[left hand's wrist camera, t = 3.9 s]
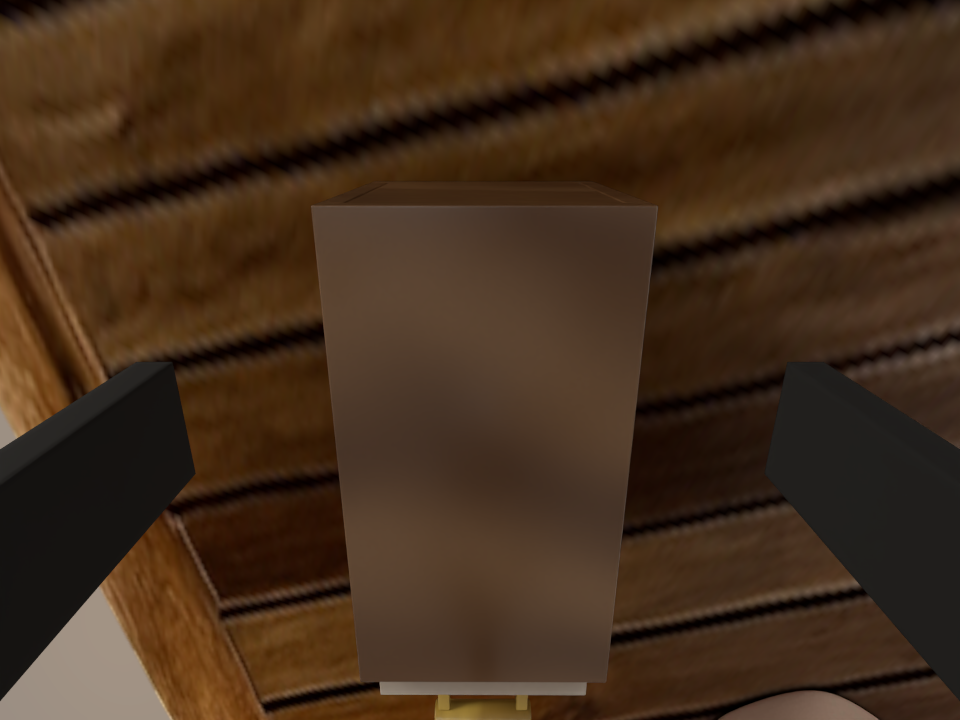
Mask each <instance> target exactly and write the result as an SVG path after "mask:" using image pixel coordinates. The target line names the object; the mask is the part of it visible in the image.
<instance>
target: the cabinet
mask: <svg viewBox="0 0 960 720" xmlns="http://www.w3.org/2000/svg"><path fill="white" fill-rule="evenodd" d="M311 210H312V220H313V229H314V239H315V249H316V258H317V268H318V277H319V287H320V297H321V306H322V316H323V325H324V335H325V345H326V354H327V364H328V373H329V383H330V393H331V402H332V412H333V422H334V431H335V441H336V450H337V460H338V470H339V479H340V489H341V498H342V508H343V518H344V527H345V537H346V547H347V556H348V566H349V575H350V585H351V595H352V604H353V614H354V623H355V633H356V643H357V652H358V662H359V671H360V681H361V682H588V683H605V682H606V678H607V669H608V660H609V651H610V642H611V632H612V623H613V614H614V605H615V596H616V587H617V578H618V568H619V559H620V550H621V541H622V532H623V523H624V514H625V504H626V495H627V486H628V477H629V468H630V459H631V450H632V440H633V431H634V422H635V413H636V404H637V395H638V386H639V376H640V367H641V358H642V349H643V340H644V331H645V321H646V312H647V303H648V294H649V285H650V276H651V267H652V257H653V248H654V239H655V230H656V221H657V212H658V206H657V205H654V204H652V203H649V202H646V201H643V200H641V199H638V198H635V197H633V196H630V195H627V194H625V193H622V192H619V191H617V190H614V189H611V188H609V187H606V186H604V185H601V184H598V183H595V182H593V181H375V182H372V183H370V184H367V185H364V186H362V187H359V188H357V189H354V190H351V191H349V192H346V193H344V194H341V195H339V196H336V197H333V198H331V199H328V200H326V201H323V202H320V203H317V204H315V205H312V206H311Z"/></svg>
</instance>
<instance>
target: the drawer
mask: <svg viewBox="0 0 960 720" xmlns="http://www.w3.org/2000/svg"><path fill="white" fill-rule="evenodd" d="M586 684H587V682H380V691H381V694H382V695H438V699H436V703H435V720H531V706H530V700H529V699H528V695H585V694H586ZM450 695H516V697H515V699H450Z"/></svg>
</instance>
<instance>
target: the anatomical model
mask: <svg viewBox="0 0 960 720" xmlns="http://www.w3.org/2000/svg"><path fill="white" fill-rule="evenodd" d="M718 720H879V719H877V718H876V717H874V716H873V715H872V714H870V713H869V712H867V711H865V710H864V709H862V708H861V707H859V706H858V705H856V704H854V703H852V702H850V701H848V700H846V699H844V698H842V697H840V696H837V695H835V694H832V693H828V692H823V691H815V690H804V691H795V692H790V693H784V694H780V695H776V696H772V697H769V698H766V699H762V700H759V701H756V702H753V703H751V704H748V705H745V706H743V707H740V708H738V709H736V710H734V711H731V712H729V713H727V714H725V715H724V716H722V717H721V718H719V719H718Z"/></svg>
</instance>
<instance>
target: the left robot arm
mask: <svg viewBox="0 0 960 720" xmlns="http://www.w3.org/2000/svg"><path fill="white" fill-rule="evenodd" d="M194 475H195V469H194V464H193V459H192V454H191V449H190V445H189V440H188V435H187V430H186V425H185V420H184V416H183V411H182V406H181V401H180V396H179V391H178V387H177V382H176V377H175V372H174V367H173V362H136V363H134V364H133V365H131V366H130V367H128V368H127V369H125V370H123V371H122V372H120V373H119V374H117V375H116V376H114V377H112V378H111V379H109V380H108V381H106V382H105V383H103V384H102V385H100V386H98V387H97V388H95V389H94V390H92V391H91V392H89V393H87V394H86V395H84V396H83V397H81V398H80V399H78V400H77V401H75V402H73V403H72V404H70V405H69V406H67V407H66V408H64V409H62V410H61V411H59V412H58V413H56V414H55V415H53V416H52V417H50V418H48V419H47V420H45V421H44V422H42V423H41V424H39V425H37V426H36V427H34V428H33V429H31V430H30V431H28V432H27V433H25V434H23V435H22V436H20V437H19V438H17V439H16V440H14V441H12V442H11V443H9V444H8V445H6V446H5V447H3V448H2V449H0V701H1V699H2V698H3V697H4V696H5V695H6V694H7V692H8V691H9V690H10V689H11V688H12V687H13V685H14V684H15V683H16V682H17V681H18V680H19V679H20V677H21V676H22V675H23V674H24V673H25V672H26V670H27V669H28V668H29V667H30V666H31V665H32V663H33V662H34V661H35V660H36V659H37V658H38V656H39V655H40V654H41V653H42V652H43V651H44V649H45V648H46V647H47V646H48V645H49V644H50V642H51V641H52V640H53V639H54V638H55V637H56V635H57V634H58V633H59V632H60V631H61V630H62V628H63V627H64V626H65V625H66V624H67V623H68V621H69V620H70V619H71V618H72V617H73V616H74V614H75V613H76V612H77V611H78V610H79V609H80V607H81V606H82V605H83V604H84V603H85V602H86V601H87V599H88V598H89V597H90V596H91V595H92V594H93V592H94V591H95V590H96V589H97V588H98V587H99V585H100V584H101V583H102V582H103V581H104V580H105V578H106V577H107V576H108V575H109V574H110V573H111V571H112V570H113V569H114V568H115V567H116V566H117V564H118V563H119V562H120V561H121V560H122V559H123V557H124V556H125V555H126V554H127V553H128V552H129V550H130V549H131V548H132V547H133V546H134V545H135V543H136V542H137V541H138V540H139V539H140V538H141V536H142V535H143V534H144V533H145V532H146V531H147V529H148V528H149V527H150V526H151V525H152V524H153V522H154V521H155V520H156V519H157V518H158V517H159V516H160V514H161V513H162V512H163V511H164V510H165V509H166V507H167V506H168V505H169V504H170V503H171V502H172V500H173V499H174V498H175V497H176V496H177V495H178V493H179V492H180V491H181V490H182V489H183V488H184V486H185V485H186V484H187V483H188V482H189V481H190V479H191V478H192V477H193V476H194ZM765 475H766V476H767V477H768V478H769V479H770V481H771V482H772V483H773V484H774V485H775V486H776V488H777V489H778V490H779V491H780V492H781V493H782V495H783V496H784V497H785V498H786V499H787V500H788V502H789V503H790V504H791V505H792V506H793V507H794V509H795V510H796V511H797V512H798V513H799V514H800V516H801V517H802V518H803V519H804V520H805V521H806V522H807V524H808V525H809V526H810V527H811V528H812V529H813V531H814V532H815V533H816V534H817V535H818V536H819V538H820V539H821V540H822V541H823V542H824V543H825V545H826V546H827V547H828V548H829V549H830V550H831V552H832V553H833V554H834V555H835V556H836V557H837V559H838V560H839V561H840V562H841V563H842V564H843V566H844V567H845V568H846V569H847V570H848V571H849V573H850V574H851V575H852V576H853V577H854V578H855V580H856V581H857V582H858V583H859V584H860V585H861V587H862V588H863V589H864V590H865V591H866V592H867V594H868V595H869V596H870V597H871V598H872V599H873V601H874V602H875V603H876V604H877V605H878V606H879V608H880V609H881V610H882V611H883V612H884V613H885V614H886V616H887V617H888V618H889V619H890V620H891V621H892V623H893V624H894V625H895V626H896V627H897V628H898V630H899V631H900V632H901V633H902V634H903V635H904V637H905V638H906V639H907V640H908V641H909V642H910V644H911V645H912V646H913V647H914V648H915V649H916V651H917V652H918V653H919V654H920V655H921V656H922V658H923V659H924V660H925V661H926V662H927V663H928V665H929V666H930V667H931V668H932V669H933V670H934V672H935V673H936V674H937V675H938V676H939V677H940V679H941V680H942V681H943V682H944V683H945V684H946V686H947V687H948V688H949V689H950V690H951V691H952V693H953V694H954V695H955V696H956V697H957V698H958V699H959V701H960V449H958V448H957V447H955V446H954V445H952V444H951V443H949V442H948V441H946V440H944V439H943V438H941V437H940V436H938V435H937V434H935V433H933V432H932V431H930V430H929V429H927V428H926V427H924V426H923V425H921V424H919V423H918V422H916V421H915V420H913V419H912V418H910V417H908V416H907V415H905V414H904V413H902V412H901V411H899V410H898V409H896V408H894V407H893V406H891V405H890V404H888V403H887V402H885V401H883V400H882V399H880V398H879V397H877V396H876V395H874V394H873V393H871V392H869V391H868V390H866V389H865V388H863V387H862V386H860V385H858V384H857V383H855V382H854V381H852V380H851V379H849V378H848V377H846V376H844V375H843V374H841V373H840V372H838V371H837V370H835V369H833V368H832V367H830V366H829V365H827V364H826V363H824V362H787V367H786V372H785V377H784V382H783V387H782V391H781V396H780V401H779V406H778V411H777V416H776V420H775V425H774V430H773V435H772V440H771V445H770V449H769V454H768V459H767V464H766V469H765Z"/></svg>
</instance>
